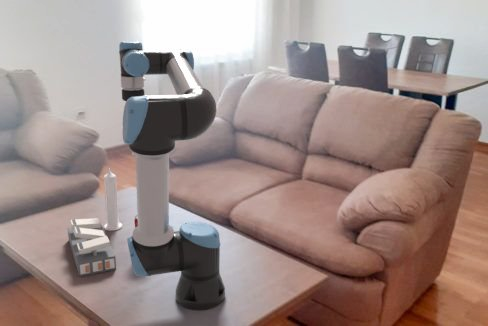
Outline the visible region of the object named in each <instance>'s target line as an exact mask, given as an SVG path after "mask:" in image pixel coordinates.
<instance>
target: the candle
mask: <svg viewBox="0 0 488 326" xmlns="http://www.w3.org/2000/svg"><path fill="white" fill-rule="evenodd" d="M103 183H104V199H105V211H106V212H105V213H106V214H105V215H106V223H105V224H104V226H103V230H104V231H108V232H109V231H110V232H113V231H114V232H115V231H118V230H120V229H122V228H123V223H121V222H120V221H119V219H120V218H119V217H120V216H119V205H118V188H117V175H116V174H114V173H113V172H112V171H111V168H110V167H108V169H107V173H106V174H104V175H103Z"/></svg>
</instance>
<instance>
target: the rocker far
mask: <svg viewBox="0 0 488 326" xmlns="http://www.w3.org/2000/svg"><path fill="white" fill-rule="evenodd" d="M69 224H70V228H72V229H74V227H79V228H99V227H101V225H102V223H101V221H100V218H98V217H94V218H78V219H73V218H72V219H70V223H69Z"/></svg>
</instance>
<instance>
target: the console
mask: <svg viewBox="0 0 488 326" xmlns="http://www.w3.org/2000/svg"><path fill="white" fill-rule="evenodd" d="M87 229H96V230H103V232H104V234H105V236H107V234H106V232H105V229H104V226H102V224H101V227H99V228H87ZM67 236H68V242H69V243H68V244H69V245H70V250H71V252H72V253H71V254H72V256H73V260H74V263H75V268H76V270H77V273H78V277H84V276H91V275H95V274H101V273H104V272H109V271H114V270H117V263H116V262H117V260H116V259H117V258H116V255H115V252H114V250H113V247H112V246H111V244H110V246H109V247H105V248H101V249H98V250H94V251H91V252H87V253H83V254H80V253H79V250H78V246H77V243H81V242H85V241H88V240H92V239H88V238H78V237H75V234H74V229H72V227H67Z"/></svg>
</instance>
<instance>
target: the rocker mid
mask: <svg viewBox="0 0 488 326" xmlns="http://www.w3.org/2000/svg"><path fill="white" fill-rule="evenodd" d="M103 230H104V229H103ZM103 230H96V229H87V228H79V227H74V234H75V237H78V238H88V239H96V238H100V237H103V236H105V234H106V233H105V234H104V232H105V231H104V232H103Z"/></svg>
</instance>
